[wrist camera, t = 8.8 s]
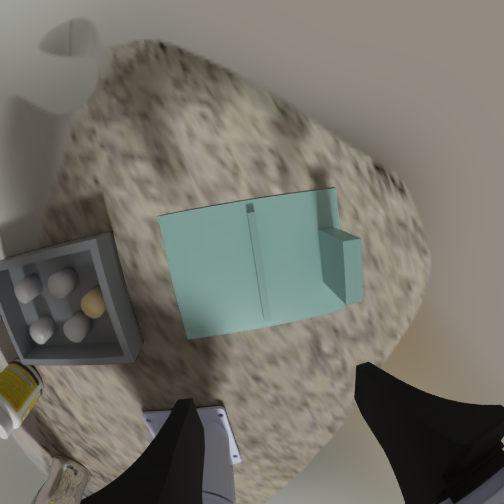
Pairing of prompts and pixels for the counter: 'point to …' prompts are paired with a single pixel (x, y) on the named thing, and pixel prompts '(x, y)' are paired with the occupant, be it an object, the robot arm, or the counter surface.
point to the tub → (69, 304)
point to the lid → (261, 262)
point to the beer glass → (63, 483)
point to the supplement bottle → (17, 395)
